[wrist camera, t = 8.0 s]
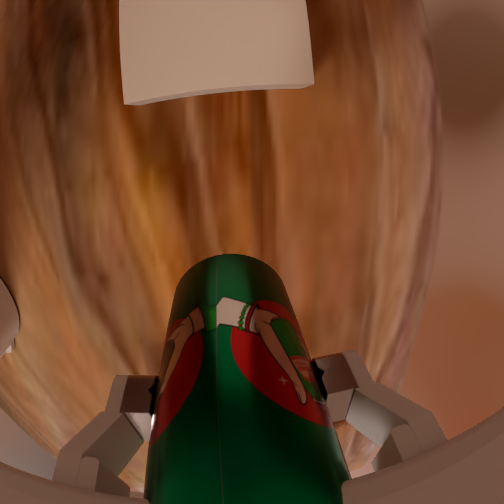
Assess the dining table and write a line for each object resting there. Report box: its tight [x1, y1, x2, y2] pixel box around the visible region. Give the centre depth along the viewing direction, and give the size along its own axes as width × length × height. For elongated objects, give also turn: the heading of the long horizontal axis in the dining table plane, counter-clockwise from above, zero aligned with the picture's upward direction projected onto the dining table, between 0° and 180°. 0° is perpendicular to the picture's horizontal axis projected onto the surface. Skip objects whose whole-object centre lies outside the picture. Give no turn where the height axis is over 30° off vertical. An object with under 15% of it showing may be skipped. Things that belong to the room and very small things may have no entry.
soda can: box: [144, 254, 352, 504], centre depth 8 cm, size 5×5×12 cm
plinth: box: [119, 0, 314, 106], centre depth 17 cm, size 14×14×4 cm
